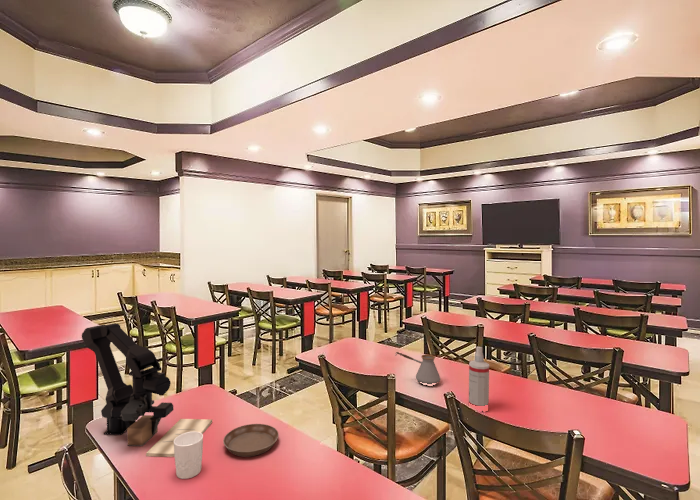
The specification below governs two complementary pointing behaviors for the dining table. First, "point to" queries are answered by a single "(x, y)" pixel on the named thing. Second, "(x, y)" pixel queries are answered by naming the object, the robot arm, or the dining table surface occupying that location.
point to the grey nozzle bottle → (478, 380)
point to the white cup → (188, 454)
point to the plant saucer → (250, 439)
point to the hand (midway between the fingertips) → (143, 434)
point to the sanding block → (140, 431)
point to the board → (182, 426)
